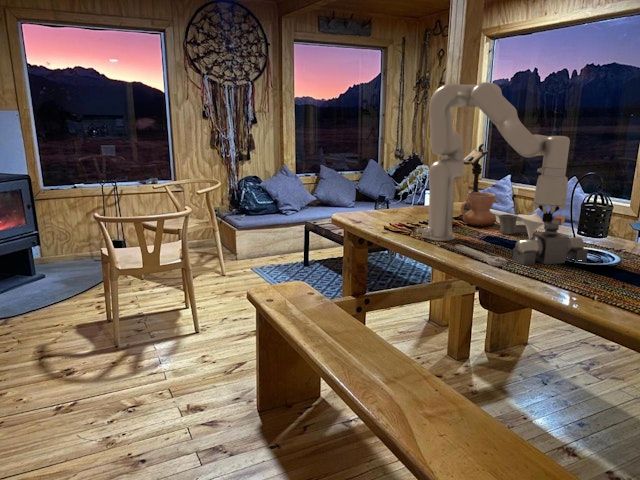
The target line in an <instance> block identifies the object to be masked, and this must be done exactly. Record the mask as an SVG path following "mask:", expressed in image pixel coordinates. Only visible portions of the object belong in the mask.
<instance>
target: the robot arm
mask: <svg viewBox="0 0 640 480" xmlns="http://www.w3.org/2000/svg"><path fill="white" fill-rule="evenodd" d="M452 108H478V109H479V110H480V111H481V112H482V113H483V114H484V115H485V116H486V117H487V118H488V120H490V121H491V122H492V123H493V125H495V128H497V130H498V132H499V133H500V134H501V136H502V137H503V139H504V140H505V141H506V142H507V144H508V145H509V146H511V148H512V149H514V151H516V153H517V154H519V155H520V156H522V157H524V158H533V157H534V158H535V157H538V156H542V157H543V159H542V166H541V167H540V168H537V171H536V173H540V174H541V175H538V178H537V181H536V184H535V190H534V197H533V202H532V207H533V208H537V209H539V210H540V211H541V213H543V214H542V219H543V220H542V222H544V225H545V222H551V221H552V220H553V214H554V213H556V212H557V211H559V210H565V209H567V205H566V204H567V199H568V187H569V186H568V185H569V183H568V182H569V180H568V179H569V178H568V177H567V176H566V173H567V165H568V156H569V151H570V141H571V140H570V138H569V137H568V136H564V135H542V134H538V133H537V134H532V132H531V131H529V129H527V128H526V127H525V125H524V124H523V123H522V122H521V120H520V119H519V115H518V111H517V109H516V107H515V106H514V105H513V104H512V103H511V102H509V100H507V98H506V97H505V96H504V95H503V93H502V89H501V86H499V85H498V84H496V83H494V82H493V83H492V82H486V81H485V82H484V81H483V82H480V83H478V84H461V83H454V82H453V83H446V84H444V85H442V86H440V87H439V88H437V89H436V90H435V92H434V93H432V95H431V98H430V101H429V107H428V110H429V111H428V112H429V135H430V137H429V139H430V141H429V142H430V151H431V152H432V153H433V155H436V156H440V159H439V160H436V161H434V162H433V163H432V164H431V165H430V167H429V169H428V183H429V184H428V185H429V198H428V200H429V203H428V219H427V220H428V222H427V223H428V224H427V225H425V227H423V228H416V230H415V231H416V232H415V233H416V234H422V235H423V238H425V239H427V240H430V241H437V242H439V241H440V242H443V241H446V242H448V241H453V240H454V239H456V237H457V236H456V234H455V233H453V217H454V204H455V203H454V201H455V190H454V189H455V188H454V182H455V181H457V180H459V179H460V178H461V177H462V175H463V173H464V168H465V167H464V165H465V164H464V160H463V159H464V141H463V138H462V136H461V135H460V134H459V132H457V131H454V129H453V116H452V112H451V109H452ZM547 206H549V207H550V210H549V211H548V210H547ZM544 225H543V226H544Z"/></svg>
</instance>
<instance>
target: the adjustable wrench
mask: <svg viewBox="0 0 640 480" xmlns="http://www.w3.org/2000/svg"><path fill="white" fill-rule="evenodd" d="M455 249H457V250H460V251H461V252H463V253H464V252H465V253H467V254H470V255H472V256H475V257H477V258H479V259H483V260H484V261H486V263H487V264H488V265H489V266H495V267H502V266H503V265H507V261H508V260H507V259H506V258H503V257H501V256H493V255H488V254H486V253H483V252H482V251H478V250H476V249H474V248H471V247H468V246H466V245H463V244H455ZM502 264H503V265H502Z"/></svg>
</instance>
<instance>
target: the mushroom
mask: <svg viewBox="0 0 640 480" xmlns="http://www.w3.org/2000/svg"><path fill="white" fill-rule="evenodd" d="M517 217H519V219H520V221H521V220H522V222H523V223H524V224H523V225H526V228H527V231H528V234H527V235H528V240H530V238H531V237H533V233H535V232H536V230H537V229H538V228H540V227H541V226H544V222H542V220H543V218H542V217H541V216H540V215H539V213H538V212H537V211H536V212H535V213H533V214H517Z"/></svg>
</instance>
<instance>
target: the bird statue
mask: <svg viewBox="0 0 640 480" xmlns="http://www.w3.org/2000/svg"><path fill="white" fill-rule="evenodd" d="M484 145H485V144H484V143H480V144H479V146H478V148H477V149H473V150H472V151H471V152H470V153H469V154H468V155H467V156H466V157H463V160H464V165H468V166H469V165H470V164H471V167H472V168H471V170H472V172H471V174H472V175H473V182H472V184H473V186H472V187H473V188H472V190H471V191H470V193H476V192H480V191H479V188H478V187H479V184H480V182H479V180H480V179H479V176H480V175H481V174H482V170H483V168H482V165H481V163H480V160H481V159H482V158H483V157H484V156H485V155H487V154H488V153H489V150H486V149H485V150H484V148H483V147H484ZM466 201H468V200H467V199H466ZM470 210H471V209H470V206H469V205H468V204H465V206H464V212H465V213H467V212H468V211H470Z"/></svg>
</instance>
